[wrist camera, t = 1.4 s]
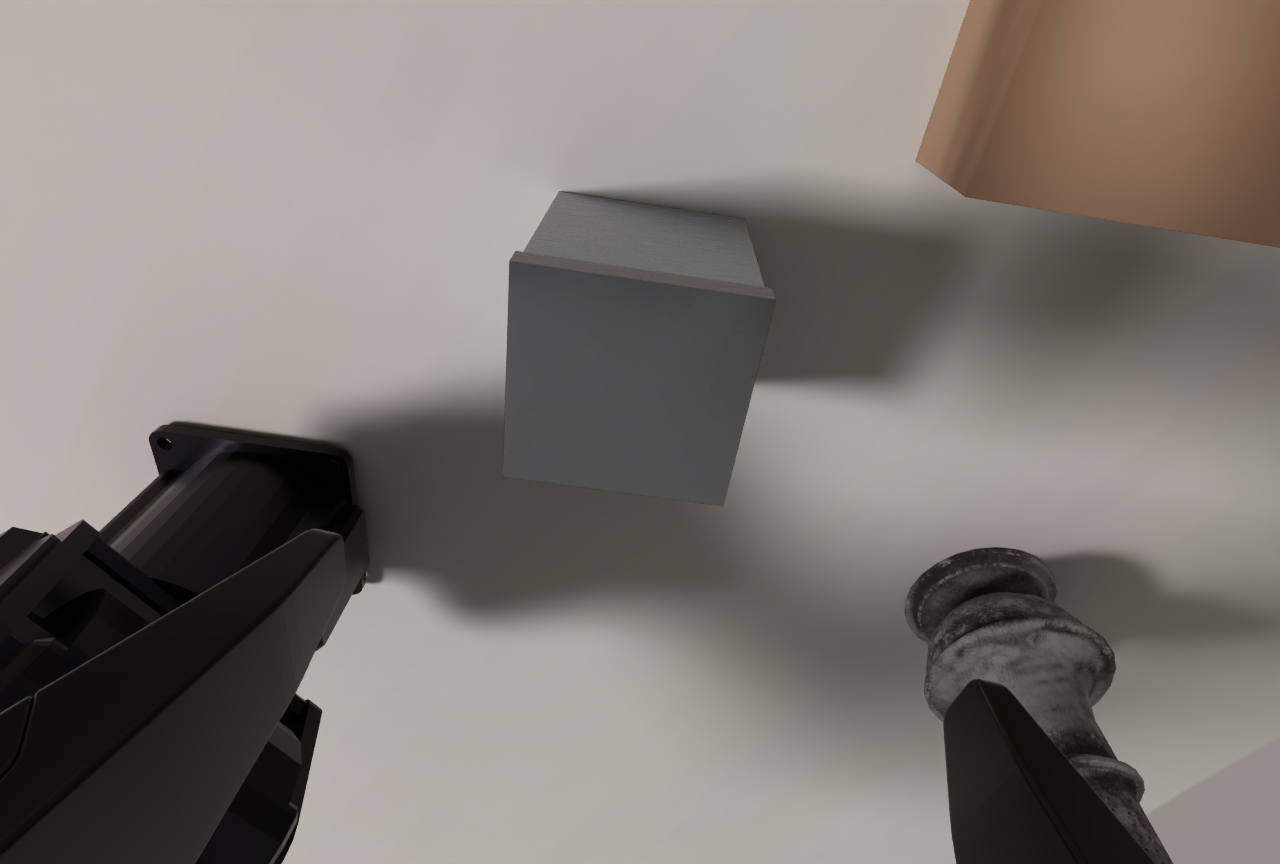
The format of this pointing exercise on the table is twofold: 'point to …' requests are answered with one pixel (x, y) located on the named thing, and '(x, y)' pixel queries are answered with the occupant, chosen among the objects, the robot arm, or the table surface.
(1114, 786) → the dark grey tall piece
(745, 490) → the table surface
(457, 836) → the table surface
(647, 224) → the slate tin
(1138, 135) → the walnut block
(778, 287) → the table surface
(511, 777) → the table surface
